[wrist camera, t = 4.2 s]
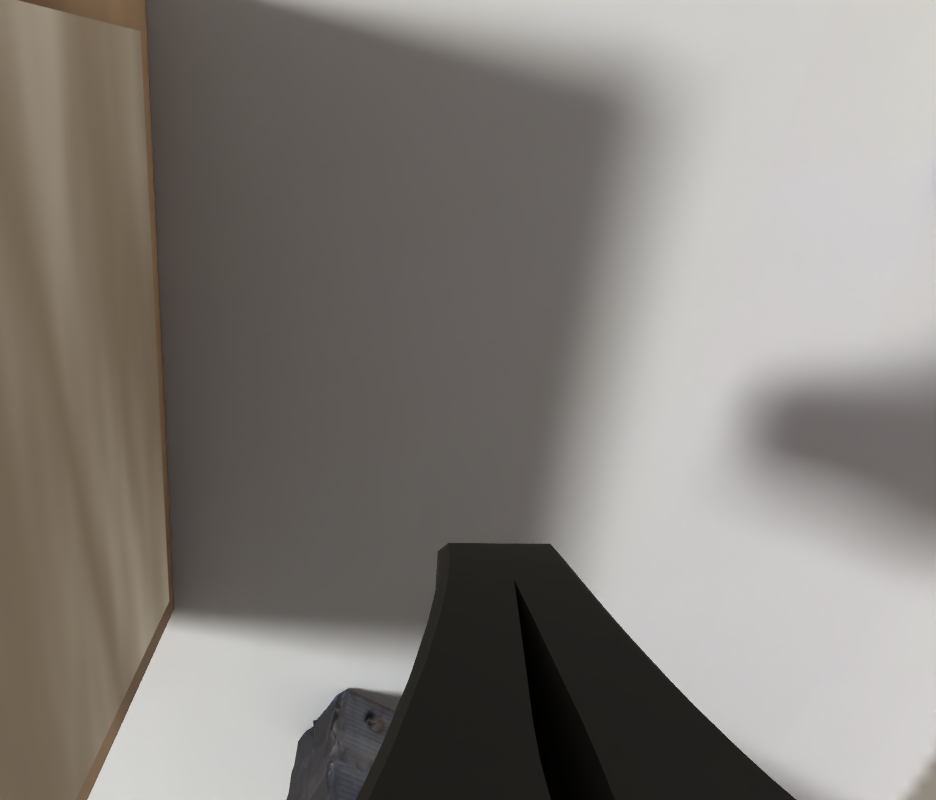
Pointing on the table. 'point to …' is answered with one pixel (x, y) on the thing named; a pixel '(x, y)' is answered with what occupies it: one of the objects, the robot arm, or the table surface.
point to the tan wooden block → (77, 391)
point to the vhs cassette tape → (339, 749)
